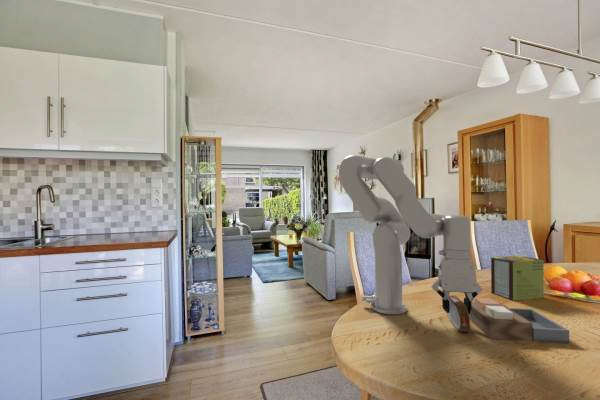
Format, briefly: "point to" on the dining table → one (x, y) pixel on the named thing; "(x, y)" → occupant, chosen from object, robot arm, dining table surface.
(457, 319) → the tin
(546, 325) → the box
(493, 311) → the cream tile
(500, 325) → the brown flat block
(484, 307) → the terracotta tile
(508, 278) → the protein box
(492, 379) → the dining table surface
